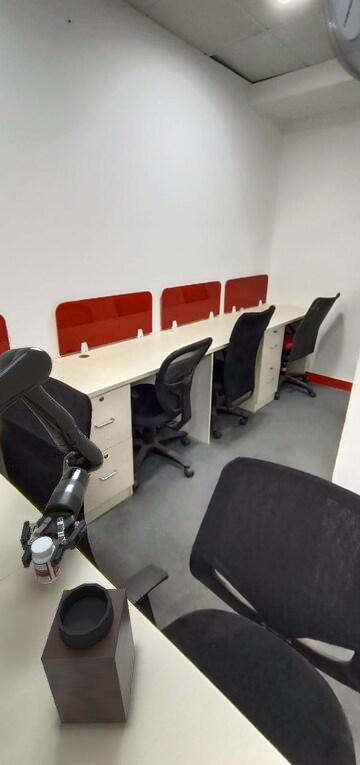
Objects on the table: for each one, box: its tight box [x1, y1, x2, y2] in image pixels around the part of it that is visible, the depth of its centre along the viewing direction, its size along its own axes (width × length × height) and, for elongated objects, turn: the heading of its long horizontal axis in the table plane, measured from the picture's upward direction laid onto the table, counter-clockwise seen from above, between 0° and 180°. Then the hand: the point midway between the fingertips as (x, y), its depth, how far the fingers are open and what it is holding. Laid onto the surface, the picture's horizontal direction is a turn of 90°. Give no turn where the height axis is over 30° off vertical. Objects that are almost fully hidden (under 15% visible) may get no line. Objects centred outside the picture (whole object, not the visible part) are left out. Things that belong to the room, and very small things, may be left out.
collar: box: [55, 582, 114, 649], centre depth 52 cm, size 8×8×3 cm
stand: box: [40, 588, 136, 724], centre depth 55 cm, size 10×10×16 cm
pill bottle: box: [31, 537, 62, 585], centre depth 72 cm, size 5×5×8 cm
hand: (39, 564), depth 69 cm, fingers closed on pill bottle, 4 cm apart
